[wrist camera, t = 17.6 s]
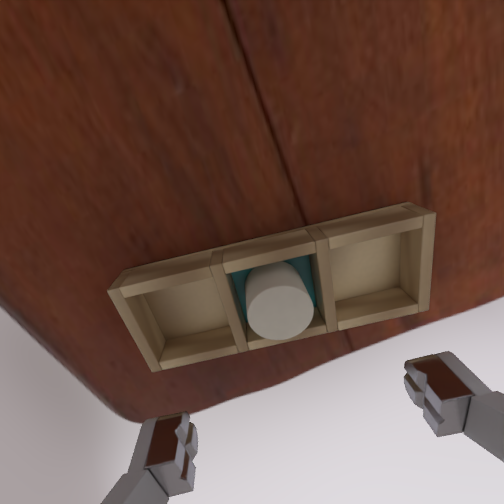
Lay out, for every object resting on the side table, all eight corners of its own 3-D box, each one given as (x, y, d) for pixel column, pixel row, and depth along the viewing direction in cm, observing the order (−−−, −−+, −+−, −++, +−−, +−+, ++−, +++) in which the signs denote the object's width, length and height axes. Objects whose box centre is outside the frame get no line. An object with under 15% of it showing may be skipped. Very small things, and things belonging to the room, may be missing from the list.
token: (251, 313, 17) (255, 346, 15) (238, 267, 16) (239, 295, 13) (304, 301, 17) (317, 332, 14) (296, 253, 16) (309, 278, 13)
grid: (161, 345, 19) (151, 373, 16) (123, 269, 16) (106, 290, 14) (405, 289, 18) (429, 310, 16) (408, 201, 15) (437, 212, 13)
